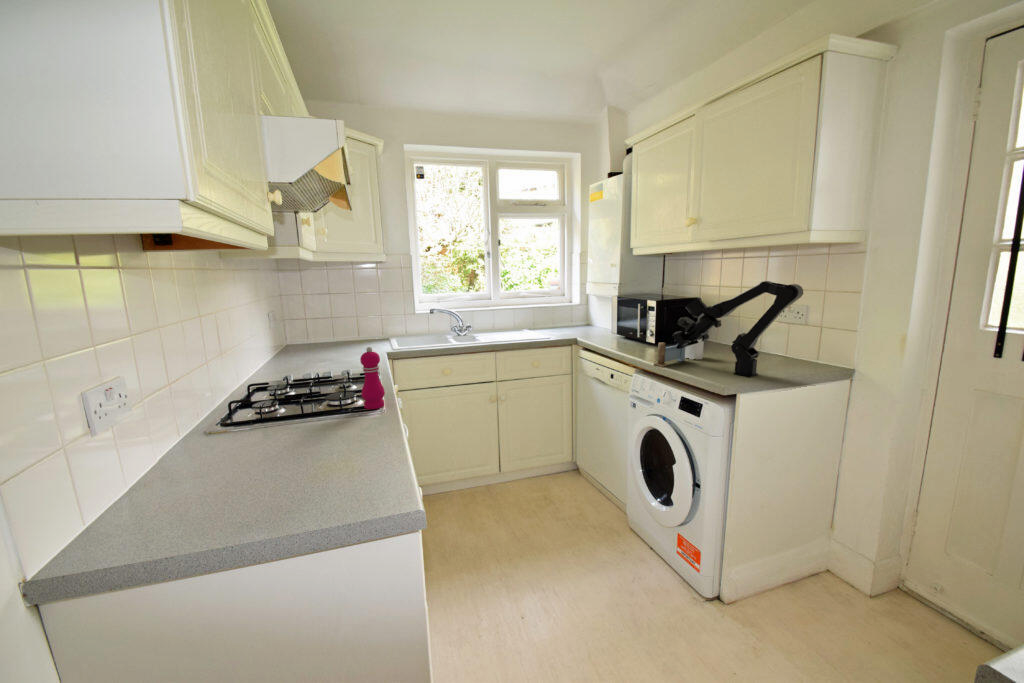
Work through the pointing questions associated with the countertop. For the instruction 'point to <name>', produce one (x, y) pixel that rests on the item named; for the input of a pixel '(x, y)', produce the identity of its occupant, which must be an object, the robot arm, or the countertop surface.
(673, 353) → the gate
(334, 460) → the countertop surface
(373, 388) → the pepper mill
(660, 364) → the hinge post
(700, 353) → the jar
